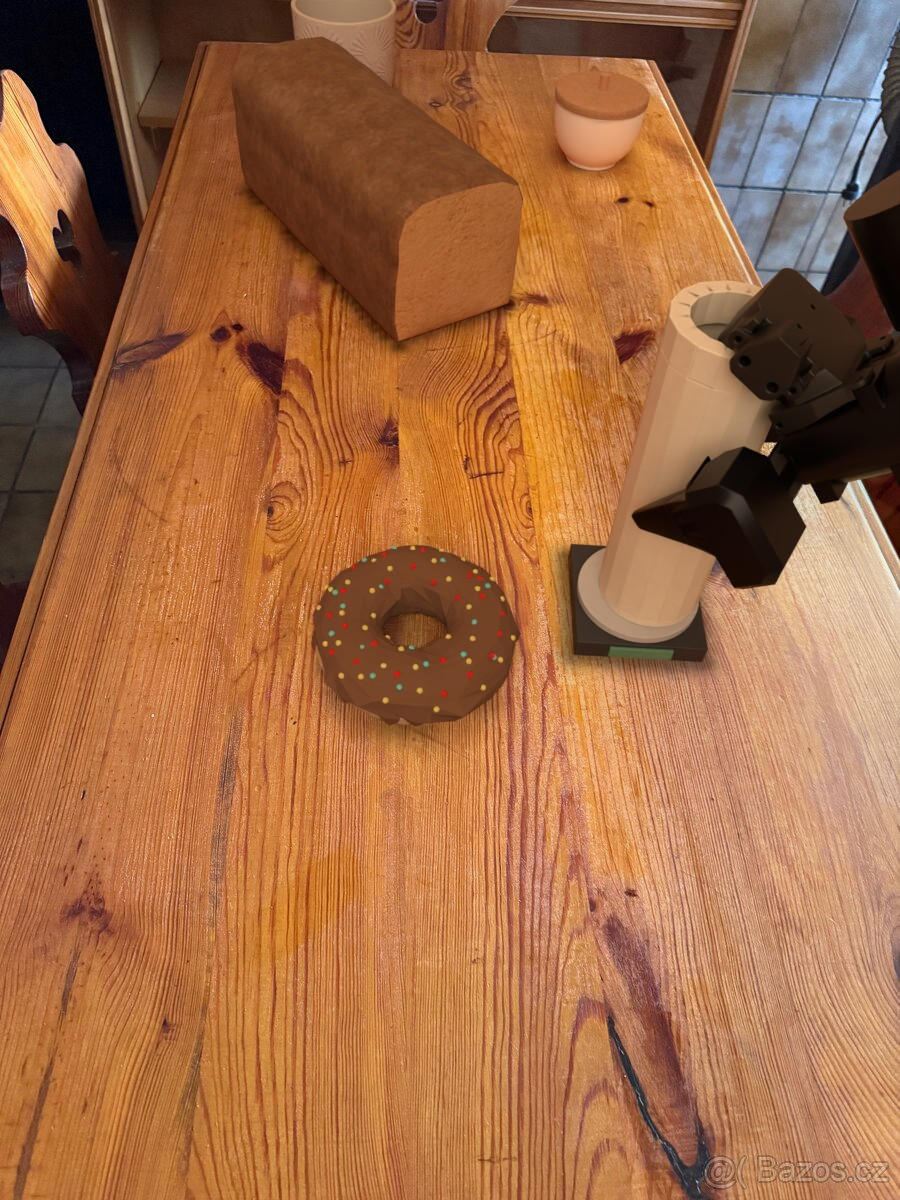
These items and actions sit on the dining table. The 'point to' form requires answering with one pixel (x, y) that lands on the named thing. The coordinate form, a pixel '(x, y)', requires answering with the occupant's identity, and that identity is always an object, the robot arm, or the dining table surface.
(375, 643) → the donut
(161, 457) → the dining table surface
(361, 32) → the planter
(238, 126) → the bread
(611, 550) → the canister
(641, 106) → the trinket box
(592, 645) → the scale
